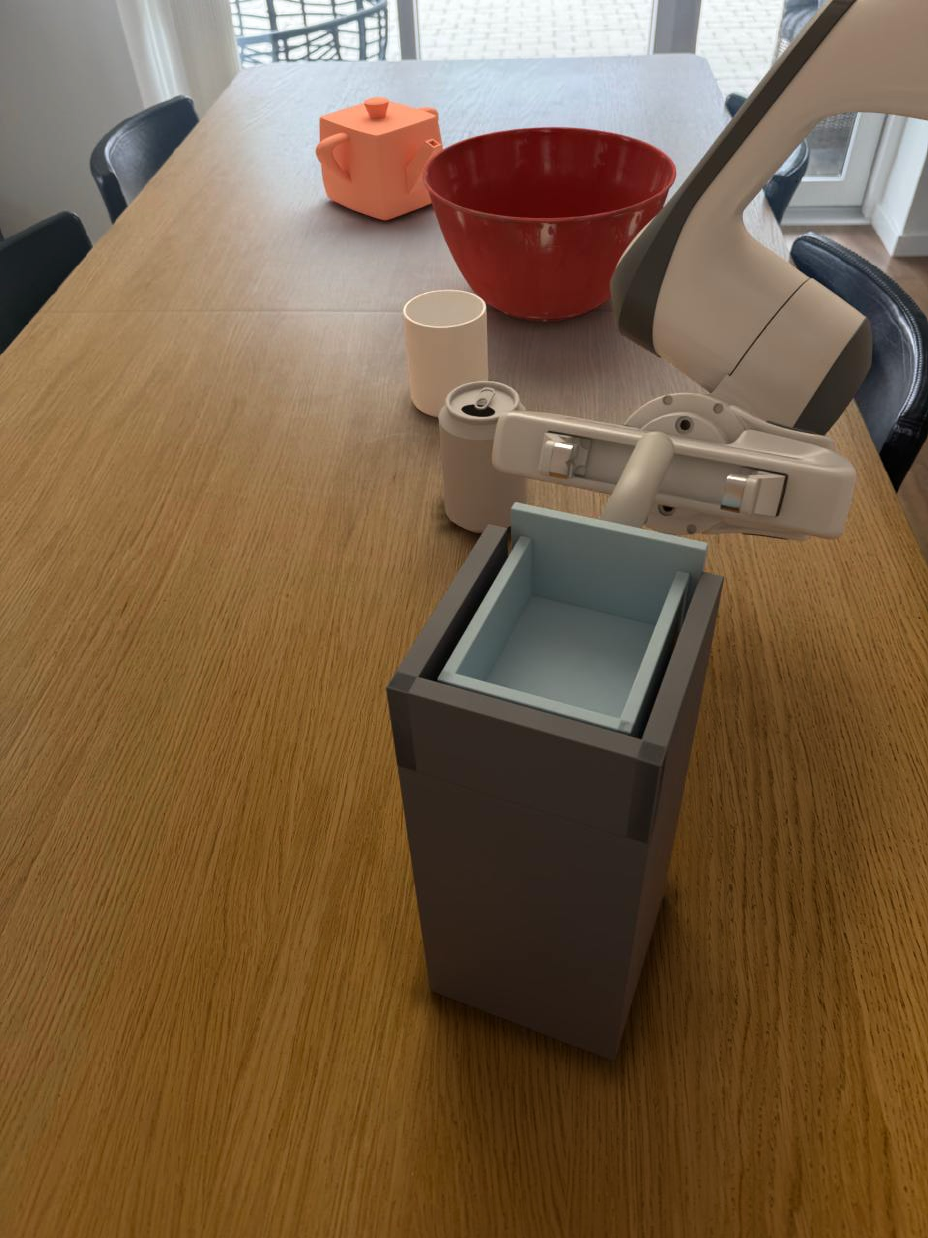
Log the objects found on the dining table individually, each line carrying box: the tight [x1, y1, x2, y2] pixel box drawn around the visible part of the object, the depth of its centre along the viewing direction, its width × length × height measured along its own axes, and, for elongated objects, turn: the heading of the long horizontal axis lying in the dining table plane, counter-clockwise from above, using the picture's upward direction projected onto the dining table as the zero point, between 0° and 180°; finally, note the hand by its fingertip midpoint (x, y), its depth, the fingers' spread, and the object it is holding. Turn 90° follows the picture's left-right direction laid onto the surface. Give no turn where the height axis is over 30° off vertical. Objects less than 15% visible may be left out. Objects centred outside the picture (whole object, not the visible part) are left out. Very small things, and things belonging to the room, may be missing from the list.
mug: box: [402, 289, 489, 418], centre depth 100 cm, size 12×8×10 cm
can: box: [438, 380, 528, 534], centre depth 84 cm, size 8×8×12 cm
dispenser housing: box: [385, 524, 725, 1062], centre depth 49 cm, size 11×11×26 cm
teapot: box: [315, 96, 444, 221], centre depth 138 cm, size 20×22×14 cm
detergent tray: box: [437, 431, 709, 739], centre depth 45 cm, size 9×20×6 cm, turn 157°
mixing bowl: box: [423, 126, 677, 323], centre depth 114 cm, size 28×28×15 cm
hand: (643, 477), depth 49 cm, fingers open, 8 cm apart
